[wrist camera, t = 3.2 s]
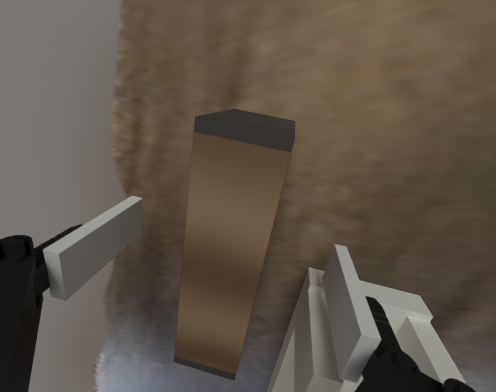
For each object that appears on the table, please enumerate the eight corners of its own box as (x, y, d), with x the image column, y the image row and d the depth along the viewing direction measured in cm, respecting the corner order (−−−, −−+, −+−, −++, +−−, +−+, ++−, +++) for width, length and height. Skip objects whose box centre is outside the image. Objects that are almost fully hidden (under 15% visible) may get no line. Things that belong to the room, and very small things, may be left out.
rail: (234, 109, 16) (195, 116, 10) (295, 121, 16) (294, 137, 9) (209, 285, 22) (173, 361, 16) (252, 297, 22) (234, 380, 15)
